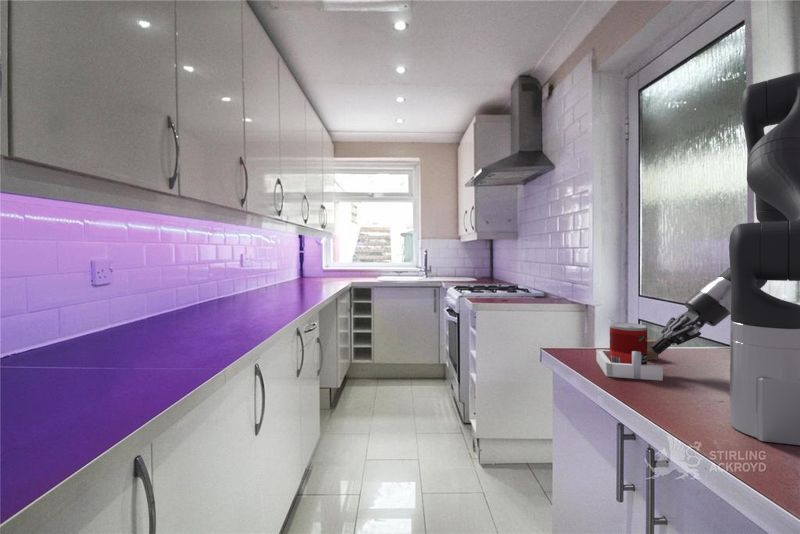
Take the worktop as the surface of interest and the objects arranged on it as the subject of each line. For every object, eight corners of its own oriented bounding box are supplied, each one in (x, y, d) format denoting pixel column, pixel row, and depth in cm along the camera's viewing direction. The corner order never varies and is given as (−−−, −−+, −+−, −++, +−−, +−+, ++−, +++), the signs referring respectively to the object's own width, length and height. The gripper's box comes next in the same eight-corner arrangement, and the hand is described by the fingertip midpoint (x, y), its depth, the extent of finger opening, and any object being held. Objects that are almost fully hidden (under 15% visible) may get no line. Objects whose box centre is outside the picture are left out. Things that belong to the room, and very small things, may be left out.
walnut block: (658, 359, 103) (658, 341, 103) (640, 360, 103) (640, 341, 103) (645, 354, 108) (645, 337, 108) (628, 355, 108) (628, 337, 108)
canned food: (646, 376, 89) (646, 329, 89) (607, 370, 94) (607, 326, 94) (648, 368, 96) (648, 324, 95) (611, 363, 100) (611, 321, 100)
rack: (663, 381, 86) (663, 354, 86) (606, 376, 89) (606, 351, 89) (643, 362, 100) (643, 340, 100) (595, 359, 104) (595, 337, 103)
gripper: (690, 287, 96) (633, 334, 100) (715, 292, 83) (649, 345, 87) (715, 309, 94) (657, 355, 98) (745, 317, 82) (677, 370, 86)
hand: (654, 350), depth 93 cm, fingers closed
